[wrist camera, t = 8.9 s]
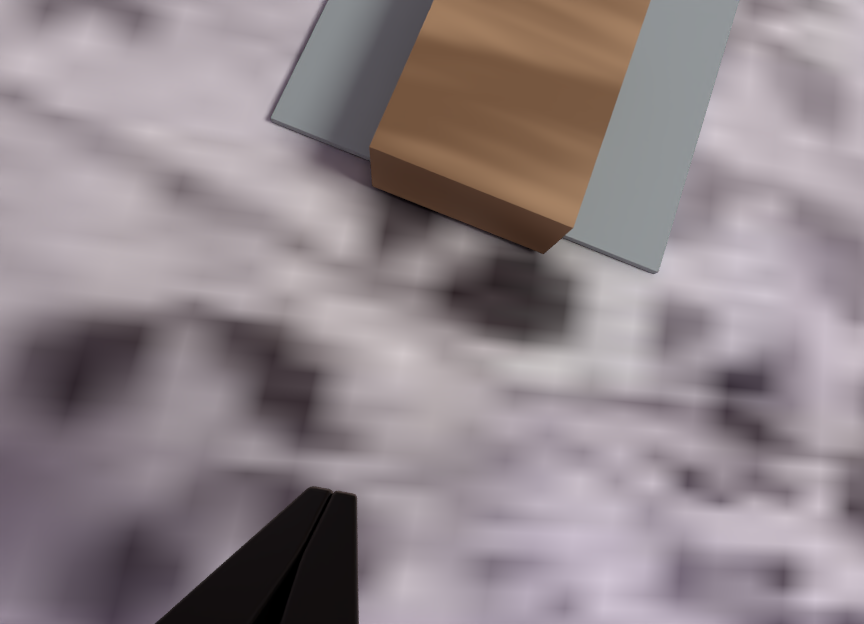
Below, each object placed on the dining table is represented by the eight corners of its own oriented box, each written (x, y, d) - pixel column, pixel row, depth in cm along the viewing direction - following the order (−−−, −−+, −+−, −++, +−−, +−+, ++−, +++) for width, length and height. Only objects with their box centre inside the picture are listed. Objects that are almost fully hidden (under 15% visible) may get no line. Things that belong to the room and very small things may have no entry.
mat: (654, 273, 19) (658, 272, 19) (272, 122, 19) (270, 117, 18) (738, -10, 21) (743, -15, 21) (404, -149, 21) (404, -157, 21)
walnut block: (573, 228, 15) (657, -20, 17) (369, 146, 15) (475, -96, 17) (543, 254, 18) (618, 40, 20) (372, 186, 18) (462, -24, 20)
